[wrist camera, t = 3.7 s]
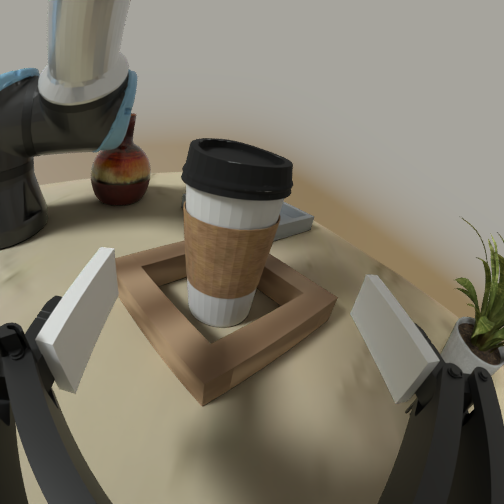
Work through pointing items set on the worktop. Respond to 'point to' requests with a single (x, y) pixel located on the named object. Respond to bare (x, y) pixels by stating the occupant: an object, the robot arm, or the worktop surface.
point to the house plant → (480, 324)
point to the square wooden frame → (231, 346)
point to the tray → (288, 221)
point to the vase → (121, 172)
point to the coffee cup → (229, 224)
